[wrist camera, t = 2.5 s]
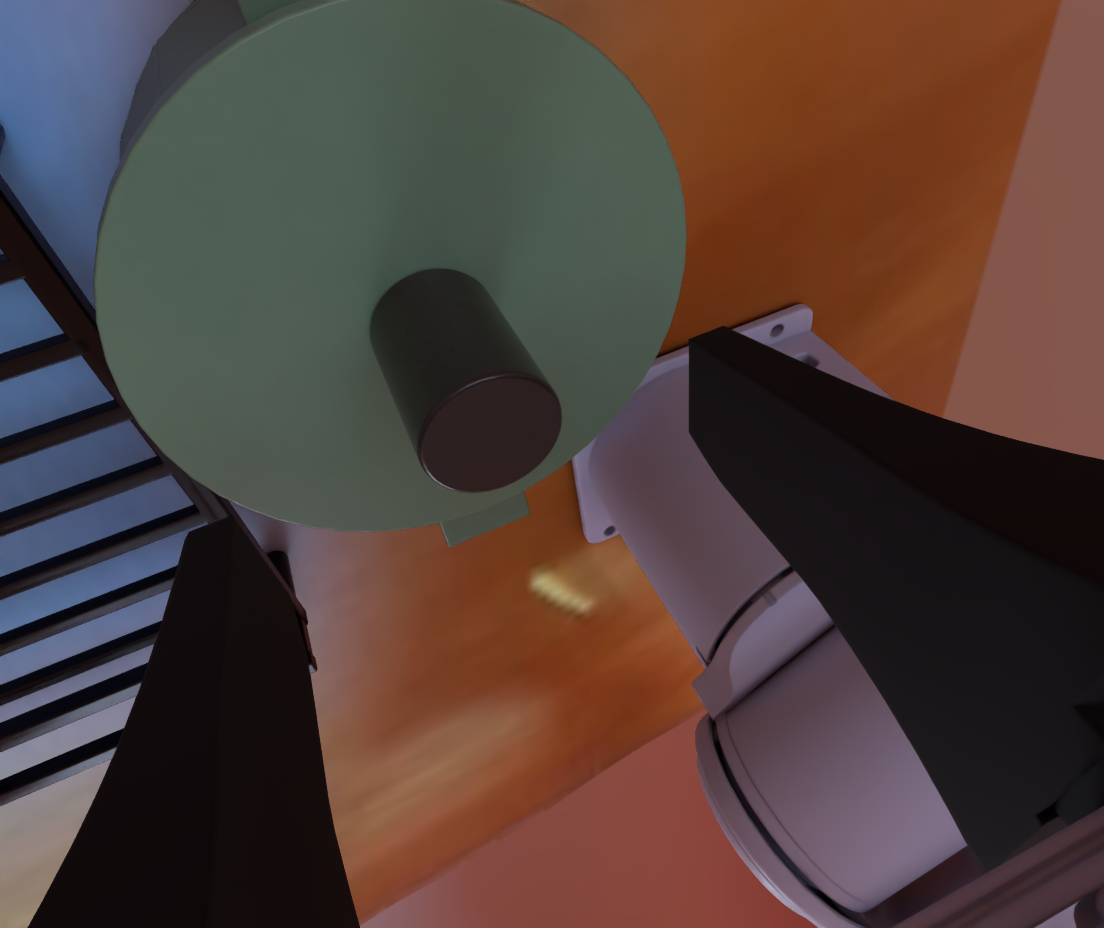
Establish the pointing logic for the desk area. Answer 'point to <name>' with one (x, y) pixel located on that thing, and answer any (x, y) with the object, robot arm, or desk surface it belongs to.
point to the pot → (203, 25)
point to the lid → (388, 259)
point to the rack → (45, 274)
